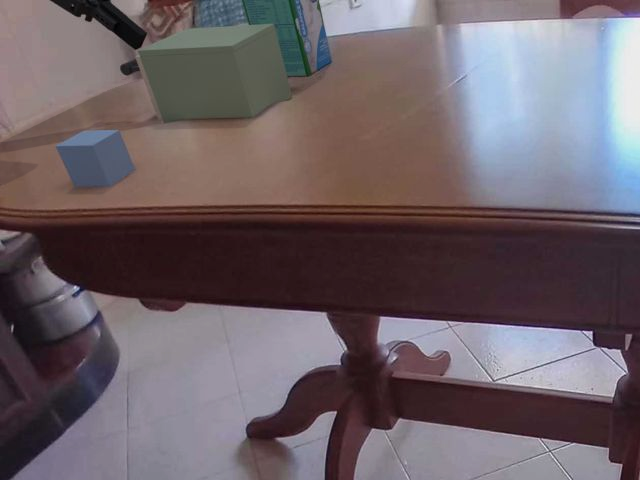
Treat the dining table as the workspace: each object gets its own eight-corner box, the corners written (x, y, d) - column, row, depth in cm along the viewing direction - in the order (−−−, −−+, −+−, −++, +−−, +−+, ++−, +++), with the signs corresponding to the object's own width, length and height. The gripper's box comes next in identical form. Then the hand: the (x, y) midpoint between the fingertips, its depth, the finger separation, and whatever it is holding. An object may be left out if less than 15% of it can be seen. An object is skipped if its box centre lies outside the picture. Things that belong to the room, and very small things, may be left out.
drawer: (128, 120, 104) (104, 57, 99) (171, 96, 113) (151, 37, 107) (240, 117, 100) (221, 52, 95) (275, 92, 109) (259, 31, 103)
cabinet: (165, 126, 102) (137, 50, 96) (209, 99, 112) (186, 28, 106) (255, 124, 99) (232, 45, 93) (292, 96, 109) (274, 23, 103)
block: (113, 194, 82) (92, 145, 79) (77, 194, 83) (54, 145, 80) (139, 177, 86) (119, 129, 83) (104, 177, 87) (83, 130, 84)
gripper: (-44, -102, 89) (122, 32, 95) (29, -111, 99) (175, 10, 105) (-55, -51, 93) (105, 74, 99) (16, -65, 103) (157, 49, 109)
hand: (141, 41), depth 102 cm, fingers closed
